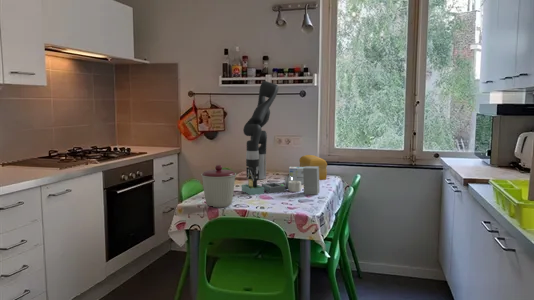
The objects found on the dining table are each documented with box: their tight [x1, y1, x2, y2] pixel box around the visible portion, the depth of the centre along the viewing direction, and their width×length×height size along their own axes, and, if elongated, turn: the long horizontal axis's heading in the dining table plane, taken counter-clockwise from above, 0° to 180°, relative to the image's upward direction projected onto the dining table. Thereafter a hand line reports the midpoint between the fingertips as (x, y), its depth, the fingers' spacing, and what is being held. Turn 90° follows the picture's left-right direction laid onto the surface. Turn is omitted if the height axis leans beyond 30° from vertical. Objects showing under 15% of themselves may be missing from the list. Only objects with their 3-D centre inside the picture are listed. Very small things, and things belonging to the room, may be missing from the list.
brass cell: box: [249, 178, 257, 189], centre depth 251 cm, size 5×5×8 cm
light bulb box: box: [288, 166, 304, 185], centre depth 278 cm, size 11×7×11 cm, turn 84°
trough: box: [241, 184, 265, 196], centre depth 251 cm, size 13×9×4 cm, turn 25°
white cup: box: [287, 181, 302, 193], centre depth 256 cm, size 7×8×5 cm
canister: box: [200, 164, 237, 208], centre depth 219 cm, size 18×18×21 cm
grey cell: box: [284, 175, 293, 190], centre depth 263 cm, size 5×5×8 cm
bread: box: [299, 154, 328, 181], centre depth 302 cm, size 24×13×15 cm, turn 12°
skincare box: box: [303, 166, 320, 196], centre depth 248 cm, size 8×7×16 cm
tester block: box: [261, 182, 286, 194], centre depth 256 cm, size 12×10×4 cm
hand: (252, 186), depth 251 cm, fingers open, 6 cm apart
